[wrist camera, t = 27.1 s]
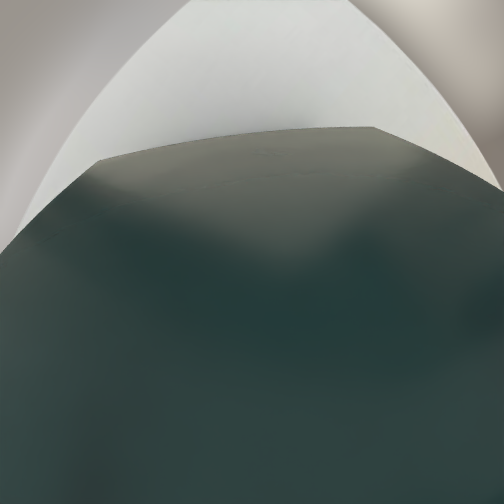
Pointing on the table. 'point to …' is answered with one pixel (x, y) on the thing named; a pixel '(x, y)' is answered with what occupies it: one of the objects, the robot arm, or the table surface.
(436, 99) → the table surface
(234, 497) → the box lid
